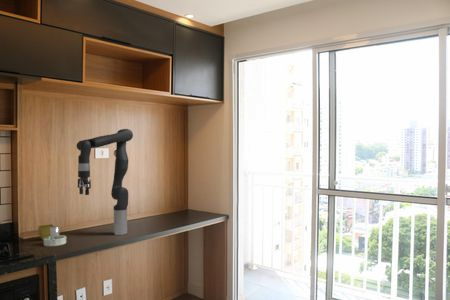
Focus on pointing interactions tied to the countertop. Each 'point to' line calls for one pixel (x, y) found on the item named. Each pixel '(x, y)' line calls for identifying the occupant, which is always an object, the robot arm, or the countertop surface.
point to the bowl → (55, 241)
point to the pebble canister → (54, 232)
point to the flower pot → (44, 231)
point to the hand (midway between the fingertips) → (84, 194)
